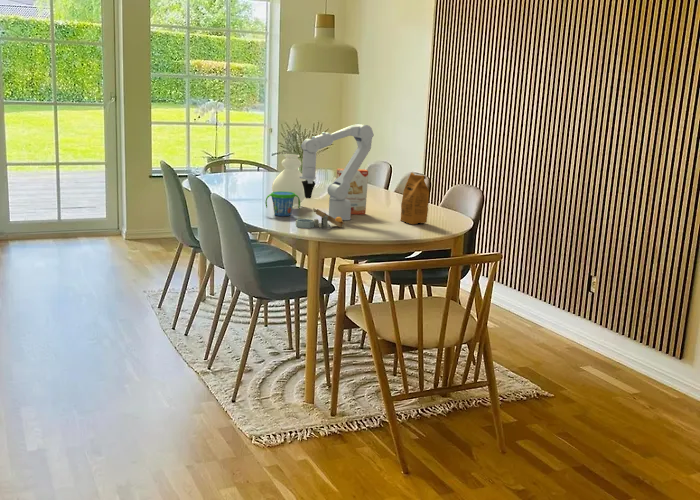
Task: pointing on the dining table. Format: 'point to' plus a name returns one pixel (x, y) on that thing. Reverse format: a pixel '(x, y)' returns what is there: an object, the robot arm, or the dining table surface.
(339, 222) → the ball
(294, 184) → the decorative vase
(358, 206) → the cracker box
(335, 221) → the lever
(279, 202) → the snack cup
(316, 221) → the fulcrum
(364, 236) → the dining table surface
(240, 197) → the dining table surface
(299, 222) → the grey octagonal bowl
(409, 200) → the coffee package
